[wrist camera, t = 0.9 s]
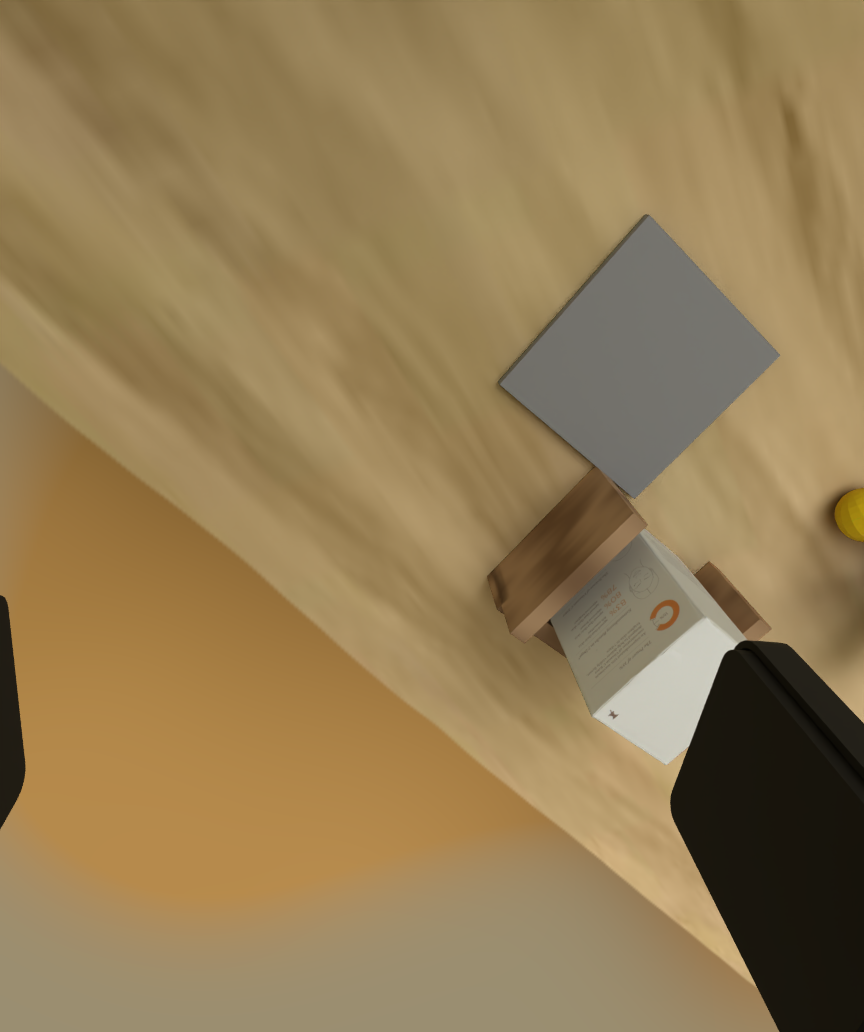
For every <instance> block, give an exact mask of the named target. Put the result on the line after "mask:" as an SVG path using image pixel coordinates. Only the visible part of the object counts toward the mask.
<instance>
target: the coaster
mask: <svg viewBox="0 0 864 1032" xmlns="http://www.w3.org/2000/svg"><path fill="white" fill-rule="evenodd" d="M779 356H780V354H779V353H778V352H777V351H776V350H775V349H774V348H773V347H772V346H771V345H770V344H769V343H768V341H767V340H766V339H765V338H764V337H763V336H762V335H761V334H760V333H759V332H758V331H757V330H756V329H755V328H754V326H753V325H752V324H751V323H750V322H749V321H748V320H747V319H746V318H745V317H744V316H743V315H742V314H741V313H740V311H739V310H738V309H737V308H736V307H735V306H734V305H733V304H732V303H731V302H730V301H729V300H728V299H727V298H726V296H725V295H724V294H723V293H722V292H721V291H720V290H719V289H718V288H717V287H716V286H715V285H714V284H713V283H712V281H711V280H710V279H709V278H708V277H707V276H706V275H705V274H704V273H703V272H702V271H701V270H700V269H699V268H698V266H697V265H696V264H695V263H694V262H693V261H692V260H691V259H690V258H689V257H688V256H687V255H686V254H685V253H684V251H683V250H682V249H681V248H680V247H679V246H678V245H677V244H676V243H675V242H674V241H673V240H672V239H671V238H670V236H669V235H668V234H667V233H666V232H665V231H664V230H663V229H662V228H661V227H660V226H659V225H658V224H657V223H656V221H655V220H654V219H653V218H652V217H651V216H650V215H646V214H645V215H644V217H643V218H642V219H641V220H640V221H639V222H638V223H637V225H636V226H635V227H634V228H633V229H632V230H631V231H630V232H629V234H628V235H627V236H626V237H625V238H624V239H623V240H622V242H621V243H620V244H619V245H618V246H617V247H616V248H615V250H614V251H613V252H612V253H611V254H610V255H609V256H608V257H607V259H606V260H605V261H604V262H603V263H602V264H601V265H600V267H599V268H598V269H597V270H596V271H595V272H594V273H593V274H592V276H591V277H590V278H589V279H588V280H587V281H586V282H585V284H584V285H583V286H582V287H581V288H580V289H579V290H578V292H577V293H576V294H575V295H574V296H573V297H572V298H571V299H570V301H569V302H568V303H567V304H566V305H565V306H564V307H563V309H562V310H561V311H560V312H559V313H558V314H557V315H556V317H555V318H554V319H553V320H552V321H551V322H550V323H549V324H548V326H547V327H546V328H545V329H544V330H543V331H542V332H541V334H540V335H539V336H538V337H537V338H536V339H535V340H534V341H533V343H532V344H531V345H530V346H529V347H528V348H527V349H526V351H525V352H524V353H523V354H522V355H521V356H520V357H519V359H518V360H517V361H516V362H515V363H514V364H513V365H512V366H511V368H510V369H509V370H508V371H507V372H506V373H505V374H504V376H503V377H502V378H501V379H500V380H499V381H498V383H499V384H500V385H501V386H502V387H503V388H504V389H506V390H507V391H508V392H509V393H510V394H511V395H513V396H514V397H515V398H516V399H517V400H518V401H520V402H521V403H522V404H523V405H524V406H526V407H527V408H528V409H529V410H530V411H531V412H533V413H534V414H535V415H536V416H537V417H539V418H540V419H541V420H542V421H543V422H544V423H546V424H547V425H548V426H549V427H550V428H551V429H553V430H554V431H555V432H556V433H557V434H559V435H560V436H561V437H562V438H563V439H564V440H566V441H567V442H568V443H569V444H570V445H572V446H573V447H574V448H575V449H576V450H577V451H579V452H580V453H581V454H582V455H583V456H584V457H586V458H587V459H588V460H589V461H590V462H592V463H593V464H594V465H595V466H596V467H597V468H599V469H600V470H601V471H602V472H603V473H604V474H606V475H607V476H608V477H609V478H610V479H612V480H613V481H614V482H615V483H616V484H617V485H619V486H620V487H621V488H622V489H623V490H625V491H626V492H627V493H628V494H629V495H630V496H632V497H633V498H634V499H635V498H636V497H637V496H638V495H639V494H640V493H641V492H642V491H643V490H644V489H645V488H646V487H647V486H648V485H649V484H650V483H651V482H652V481H653V480H654V479H655V478H656V477H657V476H658V475H659V474H660V473H661V472H662V471H663V470H664V469H665V468H666V467H667V466H668V465H669V464H670V463H672V462H673V461H674V460H675V459H676V458H677V457H678V456H679V455H680V454H681V453H682V452H683V451H684V450H685V449H686V448H687V447H688V446H689V445H690V444H691V443H692V442H693V441H694V440H695V439H696V438H697V437H698V436H699V435H700V434H701V433H702V432H703V431H704V430H705V429H706V428H707V427H708V426H709V425H710V424H711V423H712V422H713V421H714V420H715V419H716V418H717V417H718V416H719V415H720V414H721V413H722V412H723V411H724V410H725V409H726V408H727V407H728V406H729V405H730V404H731V403H733V402H734V401H735V400H736V399H737V398H738V397H739V396H740V395H741V394H742V393H743V392H744V391H745V390H746V389H747V388H748V387H749V386H750V385H751V384H752V383H753V382H754V381H755V380H756V379H757V378H758V377H759V376H760V375H761V374H762V373H763V372H764V371H765V370H766V369H767V368H768V367H769V366H770V365H771V364H772V363H773V362H774V361H775V360H776V359H777V358H778V357H779Z"/></svg>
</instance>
